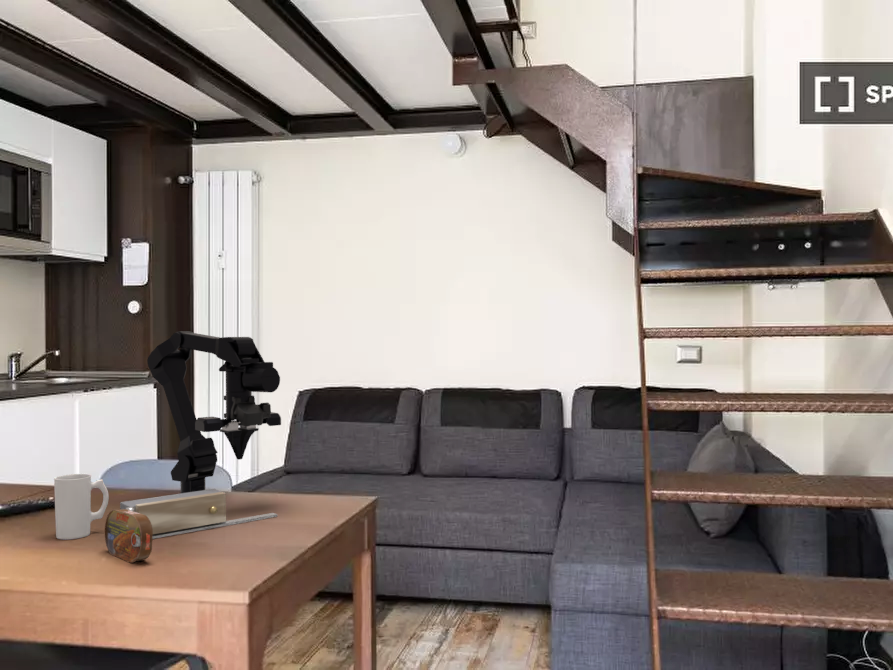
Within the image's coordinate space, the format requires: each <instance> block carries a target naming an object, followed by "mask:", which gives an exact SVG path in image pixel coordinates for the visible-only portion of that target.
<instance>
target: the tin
mask: <svg viewBox="0 0 893 670" xmlns="http://www.w3.org/2000/svg"><path fill="white" fill-rule="evenodd" d="M152 535H153V529H152V524H151V522H150V520H149V518H148V517H147V516H146V515H143V514H140V513H137V512H134V511H130V510H127V509H122V510H120V509H112V510H110V511H109V512H108V514H107V516H106V520H105V524H104V541H105V545H106V548H107V550H108V553H110V555H111V556H114V557H116V558H118V559H120V560H123V561H125V562H127V563H132V564H133V563H135V562H140V561H145V560H147V559H148V558H149V557H150V555H151V553H152V550H153V539H152V538H153V536H152Z"/></svg>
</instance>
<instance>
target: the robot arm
mask: <svg viewBox="0 0 893 670" xmlns="http://www.w3.org/2000/svg"><path fill="white" fill-rule="evenodd" d="M192 350H193V351H198V352H203V353H209V354H213V355H215V356H216V358H218V359H220V360H222V361H225V362H224V363H223V364H222V365H221V366H220V367H219V368H218V371H219V372H225V395H223V400H224V401H225V413H223V418H221V417H217V416H201V417H196V414H195V411H194V408H193V404H192V401H191V398H190V396H189V392H188V389H187V385H186V383H185V380H184V379H185V376H186V373H187V364H186V363H187V362H188V361H189V360H190V359H191V356H192V352H193V351H192ZM147 367H148V369H149V371H150V373H151V375H152V378H153V379H155V381H156V382H158V383H159V384H160V385H161V386H162V387H163V390H164V391H163V392H164V394H165V396H166V400H167V403H168V407H169V409H170V412H171V415H172V419H173V422H174V425H175V428H176V431H177V434H178V437H179V440H180V441H179V446H178V449H177V452H176V453H177V458H178V459H177V460H178V461H177V462H176V463H175V465H174V467H173V468H172V469H171V470H170V476H171V480H172V481H175V482H180V485H179V486H180V494H181V493H188V492H195V491H202V490H207V489H206V478H208V477H209V478H210V477H213V476H214V473H215V469H216V465H217V462H218V455H217V454H218V453H219V452H218V451H217V449H216V447H215V443H214V442H215V441H214V439H213V438H212V437H206V436H204V435H203V434H202V432H203V433H207V432H208V433H210V432H211V433H212V432H220V433H223V434H224V435H225V437H226V439H227V440H228V442H229V444H230V446H231V448H232V451H233V453H234V455H235V457H236V459H237V460H242V459H243V457H244V454H245V452H246V449H247V446H248V443H249V441H250V438H251V436H253V434H254V433H255V432H258V431H259V427H258V428H257V426H262V425H264V424H267V425H268V427H273V426H281V425H282V417H281V415H280V413H278V412H273V411H272V408H271V407H272V406H271V404H270V403H269V402H260V403H259V404H256V400H255V395H252V394H253V393H274V392H275V391H277V389H279V386H280V382H281V376H280V375H279V372H278V370H277V369H276V368H275V367H274V362H273V361H264V358H263V356H262V355H261V353H260V351H259V349H258V348H257V346H256V344H255V342H254V339H253V338H252V337H250V336H223V337H220V336H214V335H207V334H201V333H196V332H194V331H193V332H192V331H187V330H186V331H182V330H181V331H176V332H174V333H173V334H172V335H171V336H170V337H168V339H166V340H165V341H162V342H161V343H159V344H158V345H157V346H156V347H155V348H154V349H153V350H151V352H150V354H149V356H148V357H147ZM252 392H253V393H252Z"/></svg>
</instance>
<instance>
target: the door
mask: <svg viewBox="0 0 893 670" xmlns="http://www.w3.org/2000/svg"><path fill="white" fill-rule="evenodd" d="M224 492H225V491H222V492H217V493H211V494H204V495H197V496H191V497H184V498H177V499H170V500H164V501H157V502H150V503H143V504H137V505H135V506H136V512H137V513H140V514H143V515H146V516H147V517H148V518H149V520H150V522H151V524H152V529H153V534H158V533H164V532H169V531H175V530H181V529H186V528H192V527H198V526H203V525H209V524H215V523H220V522H226V521H227V502H226V500H227V498H226V497H227V496H226V495H227V494H226V492H225V493H224Z"/></svg>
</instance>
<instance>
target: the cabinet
mask: <svg viewBox="0 0 893 670" xmlns="http://www.w3.org/2000/svg"><path fill="white" fill-rule="evenodd" d="M217 492H224V493H226V492H225V491H222V490H219V489H216V488H210V489H206V490H202V491H195V492H188V493H181V492H180V493H175V494H168V495H162V496H161V495H160V496H156V497H148V498H140V499H139V498H138V499H134V500H125V501H120V502H119V510H122V509H126V508H127V507H135V512H136V506H135V505H137V504H143V503H150V502H157V501H164V500H170V499H177V498H184V497H191V496H197V495H204V494H211V493H217Z"/></svg>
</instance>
